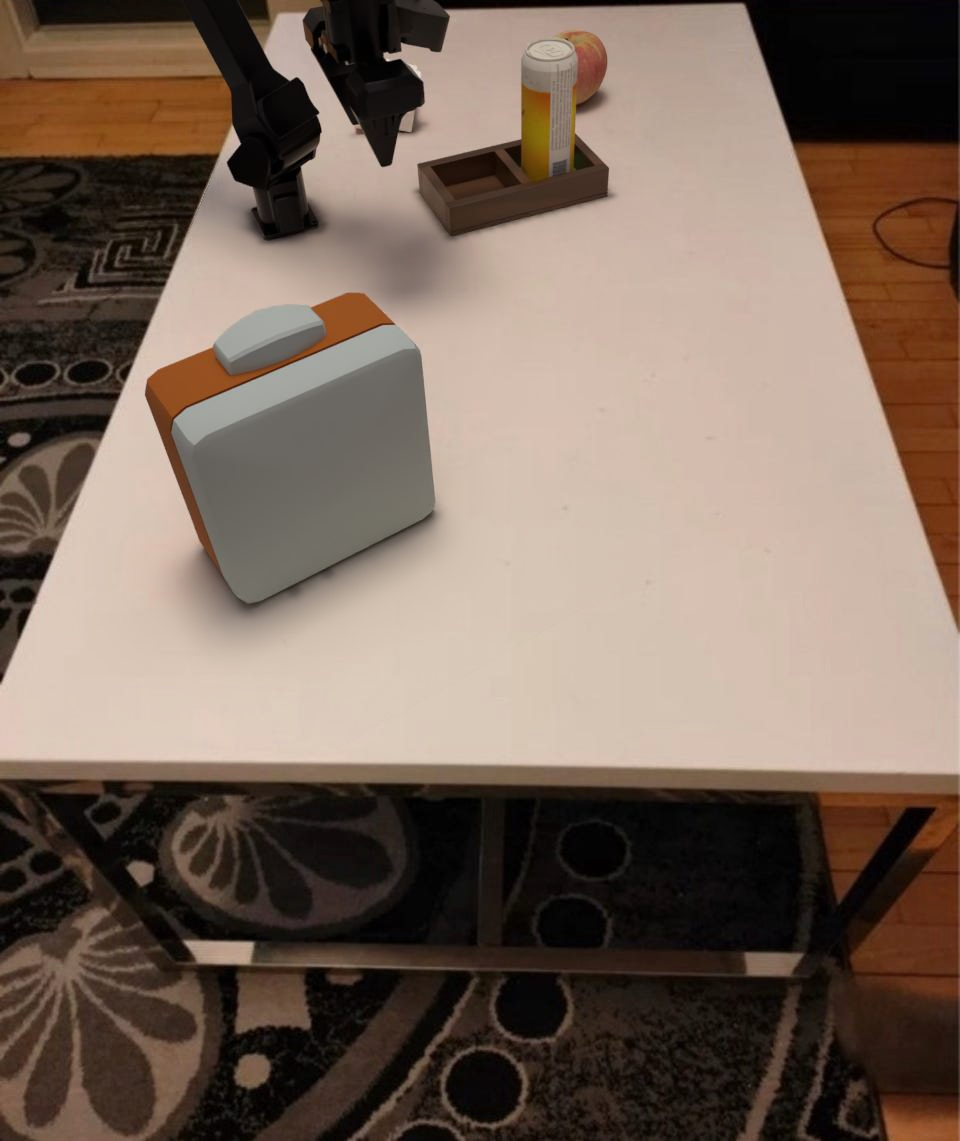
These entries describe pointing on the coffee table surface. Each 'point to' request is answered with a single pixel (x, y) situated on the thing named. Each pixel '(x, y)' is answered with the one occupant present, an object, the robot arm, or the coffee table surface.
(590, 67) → the apple
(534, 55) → the beer can
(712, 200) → the coffee table surface
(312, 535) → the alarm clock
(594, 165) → the tray
